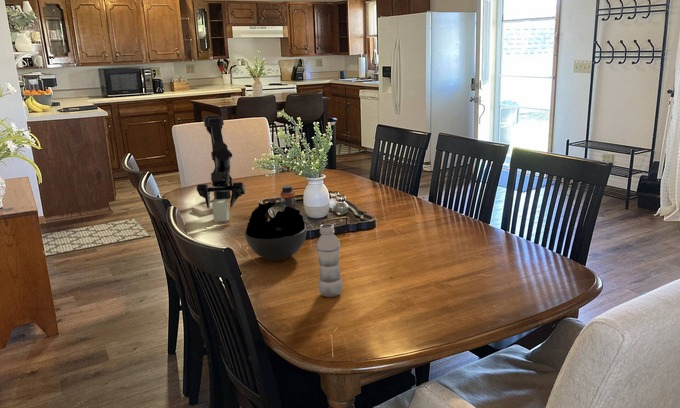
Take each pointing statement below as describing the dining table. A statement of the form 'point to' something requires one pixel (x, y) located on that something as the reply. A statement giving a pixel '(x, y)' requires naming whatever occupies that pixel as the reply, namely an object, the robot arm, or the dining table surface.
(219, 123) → the robot arm
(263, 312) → the dining table surface
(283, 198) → the supplement bottle
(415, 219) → the dining table surface
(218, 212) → the sage block
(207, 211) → the birch slab
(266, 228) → the bowl of black rocks
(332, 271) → the plastic bottle
